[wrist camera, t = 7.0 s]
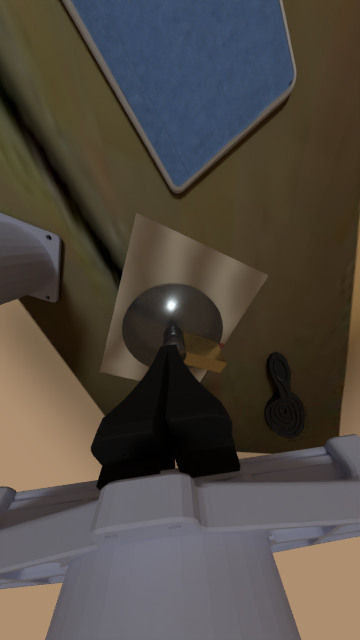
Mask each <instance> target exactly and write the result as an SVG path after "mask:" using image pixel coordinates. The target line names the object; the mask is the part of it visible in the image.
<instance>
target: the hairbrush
mask: <svg viewBox="0 0 360 640" xmlns="http://www.w3.org/2000/svg"><path fill="white" fill-rule="evenodd" d="M277 358H278V359H277ZM280 360H281V362H282V363H281V362H280ZM267 365H268V369H269V373H270V375H271V377H272V379H273V380H274V382H275V384H276V386H277V390H278V395H276V396H274V397H273V398H271V399H270V400H269V401H270V402H269V401H268V402H269V403H268V402H267V403H268V404H267V405H266V407H265V412H264V413H265V418H266V420H267V422H268V424H269V425H270V427H271V428H272V429H273V430H274V431H275V432H276V433H277V434H278V435H280V436H283V437H286V438H289V439H291V438H294V437H297V436H299V434H300V433H301V431H302V430H303V429H304V418H305V414H304V411H305V410H304V409H303V408H305V406H304V407H303V403H302V402H301V400H300V399H299V398H298V396H296V395H294V393H291V390H290V377H291V370H290V368H289V365H288V363H287V360H286V358H285V357H284V356H283V355H281V354H280V353H278V352H274V353H272V354H270V356H269V360H268V359H267ZM275 375H276V376H275ZM276 377H277V378H278V380H279V381H280V382H281V383H282V385H283V386H282V385H281V384H280V382H279V381H278V380H277V378H276ZM283 387H284V388H283ZM293 398H294V399H295V400H296V401H297V403H296V401H295V400H294V399H293ZM289 401H290V402H291V403H292V405H293V406H292V405H291V403H290V402H289ZM287 406H288V407H289V408H288V407H287ZM283 408H284V409H286V410H285V411H284V410H283ZM278 410H279V411H278ZM282 410H283V411H284V413H283V412H282ZM279 412H280V414H279ZM306 412H307V411H306ZM306 412H305V413H306ZM306 414H307V413H306ZM275 415H276V416H277V417H276V416H275ZM306 416H307V415H306ZM307 417H308V416H307ZM271 418H272V419H273V420H274V421H273V420H272V419H271ZM307 419H308V418H307ZM307 422H308V421H307ZM306 424H307V423H306ZM305 427H306V426H305ZM307 428H308V427H307ZM303 433H304V432H303ZM304 434H305V433H304ZM286 438H285V439H286ZM298 438H299V437H298ZM303 438H304V437H303ZM299 439H300V438H299ZM294 440H295V439H294ZM300 440H301V439H300ZM289 441H290V440H289ZM295 441H296V440H295ZM293 442H294V441H293Z"/></svg>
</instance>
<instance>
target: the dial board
mask: <svg viewBox="0 0 360 640" xmlns="http://www.w3.org/2000/svg"><path fill="white" fill-rule="evenodd" d="M267 277H268V275H266V274H264V273H262V272H260V271H258V270H256V269H254V268H252V267H249V266H247V265H245V264H243V263H241V262H239V261H237V260H235V259H233V258H231V257H228V256H226V255H224V254H222V253H220V252H218V251H216V250H214V249H212V248H209V247H207V246H205V245H203V244H201V243H199V242H197V241H195V240H193V239H191V238H188V237H186V236H184V235H182V234H180V233H178V232H176V231H174V230H172V229H169V228H167V227H165V226H163V225H161V224H159V223H157V222H155V221H153V220H150V219H148V218H146V217H144V216H142V215H140V214H138V213H137V214H136V218H135V222H134V227H133V231H132V235H131V239H130V244H129V248H128V252H127V257H126V261H125V265H124V270H123V274H122V278H121V283H120V287H119V291H118V296H117V300H116V304H115V308H114V313H113V317H112V321H111V326H110V330H109V334H108V339H107V343H106V347H105V352H104V356H103V360H102V365H101V369H100V372H103V373H107V374H112V375H116V376H121V377H125V378H130V379H134V380H139V381H141V380H142V378H143V377H144V375H145V374H146V372H147V371H148V369H149V368H150V367H148V366H146V365H144V364H142V363H141V362H139V361H138V360H137V359H136V358H134V357H133V355H132V354H131V353H130V352H129V350H128V349H127V347H126V345H125V343H124V340H123V336H122V322H123V318H124V315H125V313H126V311H127V309H128V308H129V306H130V305H131V303H132V302H133V300H134V299H135V298H136V297H137V296H138V295H140V294H141V293H142V292H144V291H146V290H147V289H149V288H152V287H154V286H157V285H161V284H167V283H179V284H185V285H189V286H192V287H194V288H197V289H199V290H200V291H202V292H203V293H205V294H206V295H207V296H208V297H209V298H210V299H211V300H212V301H213V302H214V304H215V305H216V307H217V308H218V310H219V312H220V314H221V317H222V321H223V334H222V338H221V341H220V344H219V347H220V349H221V348H223V346H224V344H225V342H226V341H227V339H228V338H229V336H230V334H231V333H232V331H233V330H234V328H235V327H236V325H237V324H238V322H239V320H240V319H241V317H242V316H243V314H244V313H245V311H246V310H247V308H248V306H249V305H250V303H251V302H252V300H253V299H254V297H255V296H256V294H257V293H258V291H259V289H260V288H261V286H262V285H263V283H264V282H265V280H266V279H267ZM189 370H190V372H191V373H192V374H193V375H194V377H195V378H196V379H197V380H198V381H199V382H200V381H201V379H202V378H203V376H204V375H205V373H206V372H207V369H203V368H199V367H193V368H191V369H189Z"/></svg>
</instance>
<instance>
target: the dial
mask: <svg viewBox="0 0 360 640" xmlns="http://www.w3.org/2000/svg"><path fill="white" fill-rule="evenodd" d="M222 334H223V321H222V317H221V314H220V312H219V310H218V308H217V307H216V305H215V304H214V302H213V301H212V300H211V299H210V298H209V297H208V296H207V295H206V294H205V293H203V292H202V291H200V290H199V289H197V288H194V287H192V286H189V285H185V284H179V283H167V284H161V285H157V286H154V287H152V288H149V289H147V290H146V291H144V292H142V293H141V294H140V295H138V296H137V297H136V298H135V299H134V300H133V302H132V303H131V305H130V306H129V308H128V309H127V311H126V313H125V315H124V318H123V322H122V336H123V340H124V343H125V345H126V347H127V349H128V350H129V352H130V353H131V354H132V355H133V357H134V358H136V359H137V360H138V361H139V362H141V363H142V364H144V365H146V366H148V367H150V366H151V364H152V363H153V361H154V359H155V357H156V355H157V353H158V351H159V348H160V347H161V346H165V345H172V344H176V345H177V348H178V351H179V354H180V356H181V358H182V359H183V361H184V363H185V364H186V366H187V368H188V369H191V368H193V367H199V368H203V369H207V370H211V371H215V372H219V373H221V371H222V370H223V368H224V367H225V365H226V364H227V362H226V360H225V358H224V356H223V354H222V351H221V349H220V347H219V344H220V341H221V338H222Z"/></svg>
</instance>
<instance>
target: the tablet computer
mask: <svg viewBox="0 0 360 640" xmlns="http://www.w3.org/2000/svg"><path fill="white" fill-rule="evenodd" d="M62 2H63V3H64V5H65V7H66V9H67V10H68V12H69V14H70V16H71V17H72V19H73V21H74V23H75V24H76V26H77V28H78V30H79V31H80V33H81V35H82V37H83V38H84V40H85V42H86V43H87V45H88V47H89V49H90V50H91V52H92V54H93V56H94V57H95V59H96V61H97V63H98V64H99V66H100V68H101V69H102V71H103V73H104V75H105V76H106V78H107V80H108V82H109V83H110V85H111V87H112V89H113V90H114V92H115V94H116V96H117V97H118V99H119V101H120V102H121V104H122V106H123V108H124V109H125V111H126V113H127V115H128V116H129V118H130V120H131V122H132V123H133V125H134V127H135V128H136V130H137V132H138V134H139V135H140V137H141V139H142V141H143V142H144V144H145V146H146V148H147V149H148V151H149V153H150V155H151V156H152V158H153V160H154V161H155V163H156V165H157V167H158V168H159V170H160V172H161V174H162V175H163V177H164V179H165V181H166V182H167V184H168V186H169V188H170V189H171V190H172V191H173V192H174V193H176V194H178V193H182V192H183V191H184V190H186V189H187V188H188V187H189V186H190V185H191V184H192V183H194V182H195V181H196V180H197V179H198V178H199V177H200V176H201V175H202V174H203V173H205V172H206V171H207V170H208V169H209V168H210V167H211V166H212V165H214V164H215V163H216V162H217V161H218V160H219V159H220V158H222V157H223V156H224V155H225V154H226V153H227V152H228V151H230V150H231V149H232V148H233V147H234V146H235V145H236V144H237V143H238V142H239V141H241V140H242V139H243V138H244V137H245V136H246V135H247V134H248V133H249V132H251V131H252V130H253V129H254V128H255V127H256V126H257V125H258V124H259V123H260V122H262V121H263V120H264V119H265V118H266V117H267V116H268V115H269V114H270V113H272V112H273V111H274V110H275V109H276V108H277V107H278V106H279V105H280V104H282V103H283V102H284V101H285V100H286V99H287V97H288V96H289V95H290V93H291V91H292V89H293V87H294V84H295V81H296V66H295V61H294V56H293V51H292V47H291V41H290V36H289V32H288V27H287V21H286V17H285V12H284V7H283V2H282V0H62Z"/></svg>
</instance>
